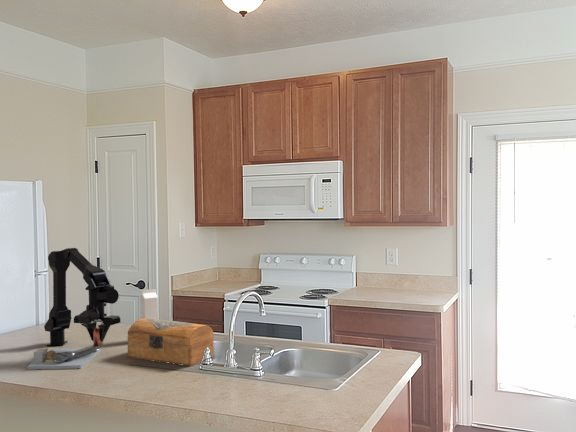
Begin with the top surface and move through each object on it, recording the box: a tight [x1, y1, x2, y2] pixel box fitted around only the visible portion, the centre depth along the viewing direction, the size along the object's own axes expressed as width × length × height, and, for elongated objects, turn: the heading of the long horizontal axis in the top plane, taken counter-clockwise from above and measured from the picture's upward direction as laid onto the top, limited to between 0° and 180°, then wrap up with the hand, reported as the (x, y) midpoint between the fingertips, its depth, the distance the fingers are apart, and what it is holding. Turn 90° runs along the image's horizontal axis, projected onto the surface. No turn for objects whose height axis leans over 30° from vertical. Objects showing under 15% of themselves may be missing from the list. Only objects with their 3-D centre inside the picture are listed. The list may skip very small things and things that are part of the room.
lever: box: [53, 326, 104, 361], centre depth 213 cm, size 5×22×8 cm, turn 156°
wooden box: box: [127, 318, 215, 367], centre depth 214 cm, size 30×16×14 cm, turn 62°
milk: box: [139, 288, 159, 320], centre depth 242 cm, size 6×6×22 cm
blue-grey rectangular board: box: [26, 348, 102, 371], centre depth 212 cm, size 24×19×5 cm
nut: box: [46, 349, 56, 360], centre depth 207 cm, size 4×4×4 cm
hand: (97, 341), depth 221 cm, fingers open, 4 cm apart
